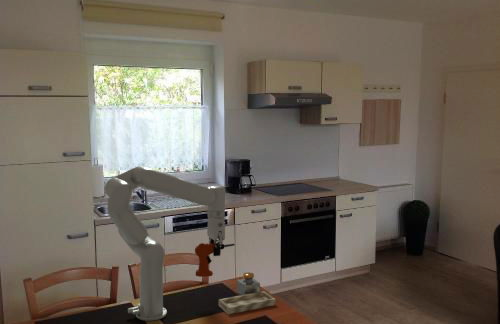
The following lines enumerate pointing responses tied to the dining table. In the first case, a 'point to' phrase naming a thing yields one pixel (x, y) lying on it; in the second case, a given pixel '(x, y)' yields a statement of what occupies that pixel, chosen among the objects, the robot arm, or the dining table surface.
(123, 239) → the robot arm
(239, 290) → the socket block
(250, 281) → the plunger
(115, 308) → the dining table surface
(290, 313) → the dining table surface
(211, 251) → the toy drill
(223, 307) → the marbled rectangular tray
